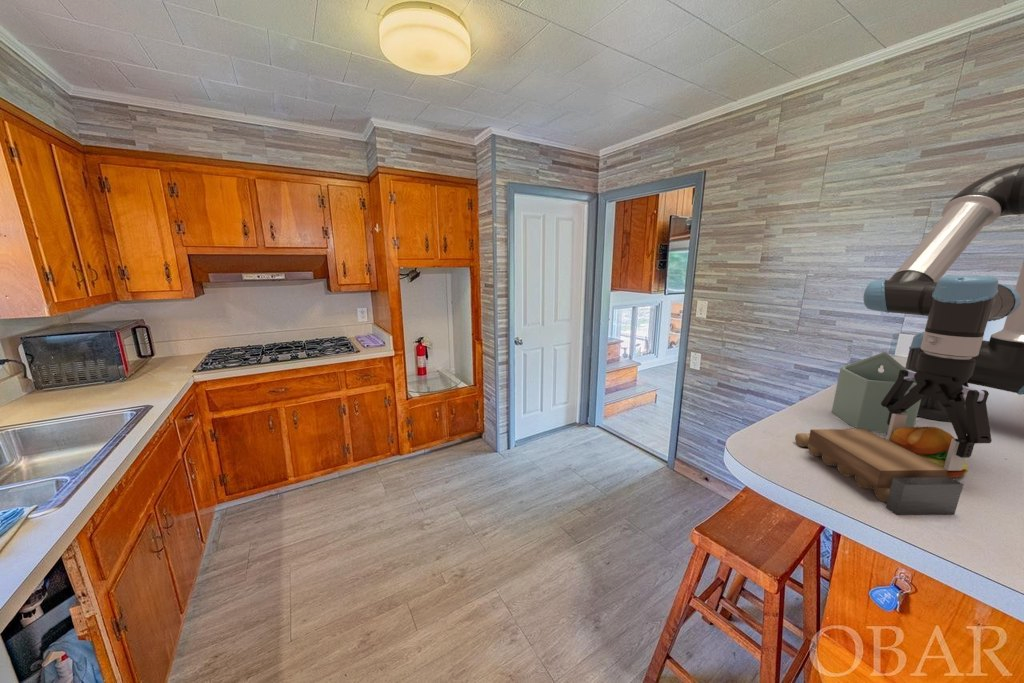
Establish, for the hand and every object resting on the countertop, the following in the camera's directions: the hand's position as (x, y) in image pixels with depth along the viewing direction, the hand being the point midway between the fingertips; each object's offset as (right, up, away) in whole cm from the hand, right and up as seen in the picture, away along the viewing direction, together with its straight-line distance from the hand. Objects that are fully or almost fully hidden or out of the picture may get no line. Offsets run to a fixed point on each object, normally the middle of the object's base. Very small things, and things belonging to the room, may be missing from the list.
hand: (920, 454), depth 78 cm
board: (-14, -1, -3) cm, 15 cm away
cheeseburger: (+1, -3, 0) cm, 3 cm away
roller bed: (-14, -3, 0) cm, 15 cm away
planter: (+6, +1, +19) cm, 20 cm away
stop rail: (-15, -6, -13) cm, 20 cm away
